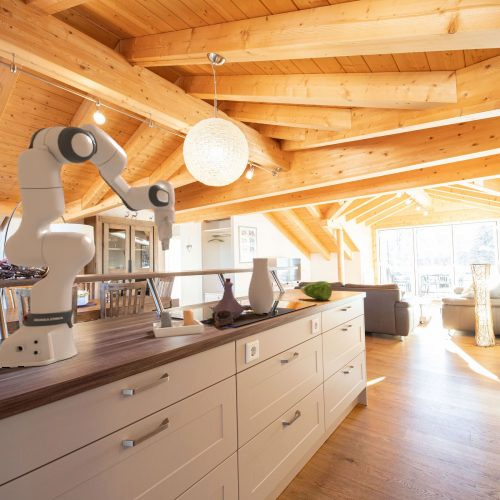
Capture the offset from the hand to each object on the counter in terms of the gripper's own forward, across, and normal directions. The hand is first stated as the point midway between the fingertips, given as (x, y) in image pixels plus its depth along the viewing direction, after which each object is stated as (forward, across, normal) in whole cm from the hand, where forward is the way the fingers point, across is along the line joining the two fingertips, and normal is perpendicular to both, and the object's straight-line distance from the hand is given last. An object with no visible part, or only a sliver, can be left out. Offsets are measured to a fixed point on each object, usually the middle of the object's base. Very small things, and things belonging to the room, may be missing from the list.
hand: (165, 250), depth 142 cm
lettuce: (+34, +56, -110) cm, 128 cm away
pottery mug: (+34, -5, -24) cm, 42 cm away
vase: (+34, +17, -52) cm, 65 cm away
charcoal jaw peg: (+33, -14, +2) cm, 36 cm away
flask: (+34, +12, -32) cm, 48 cm away
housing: (+34, -14, -3) cm, 37 cm away
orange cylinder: (+33, -14, -7) cm, 37 cm away
